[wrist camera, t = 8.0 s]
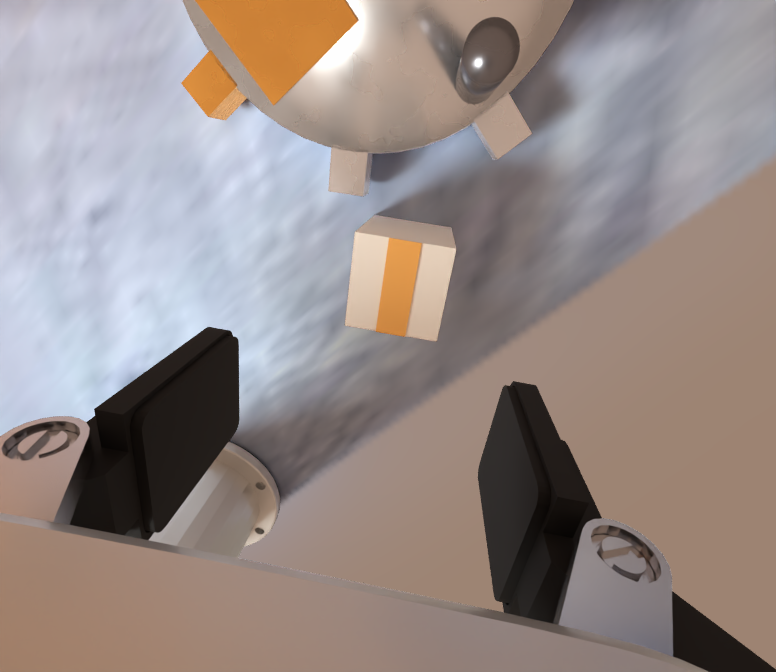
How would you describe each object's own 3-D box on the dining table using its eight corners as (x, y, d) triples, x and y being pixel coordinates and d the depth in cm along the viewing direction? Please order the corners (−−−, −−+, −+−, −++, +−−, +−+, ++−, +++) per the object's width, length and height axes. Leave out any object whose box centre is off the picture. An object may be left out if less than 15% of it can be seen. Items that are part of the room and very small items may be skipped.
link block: (436, 300, 28) (436, 342, 21) (365, 288, 28) (344, 326, 22) (451, 227, 26) (456, 249, 19) (374, 214, 26) (354, 232, 20)
